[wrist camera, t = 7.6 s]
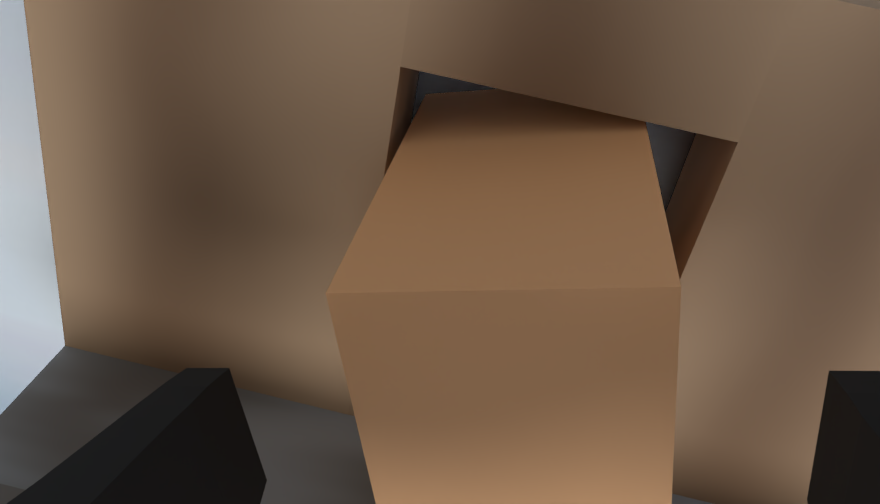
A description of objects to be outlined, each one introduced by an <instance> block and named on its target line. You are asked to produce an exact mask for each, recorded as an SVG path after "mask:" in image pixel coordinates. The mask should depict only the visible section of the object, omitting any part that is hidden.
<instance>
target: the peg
mask: <svg viewBox="0 0 880 504" xmlns="http://www.w3.org/2000/svg"><path fill="white" fill-rule="evenodd" d="M326 298H327V302H328V306H329V310H330V314H331V319H332V323H333V327H334V331H335V335H336V339H337V344H338V348H339V352H340V356H341V360H342V365H343V369H344V373H345V377H346V381H347V386H348V390H349V394H350V398H351V402H352V406H353V411H354V415H355V419H356V423H357V427H358V432H359V436H360V440H361V444H362V448H363V453H364V457H365V461H366V465H367V469H368V473H369V478H370V482H371V486H372V490H373V494H374V499H375V503H376V504H672V484H673V461H674V439H675V416H676V394H677V372H678V349H679V327H680V305H681V283H680V279H679V274H678V269H677V265H676V260H675V256H674V251H673V246H672V242H671V237H670V233H669V228H668V223H667V219H666V214H665V210H664V205H663V200H662V196H661V191H660V186H659V182H658V177H657V173H656V168H655V163H654V159H653V154H652V150H651V145H650V140H649V136H648V131H647V127H646V122H644V121H640V120H635V119H631V118H626V117H622V116H618V115H613V114H609V113H604V112H600V111H595V110H591V109H586V108H582V107H578V106H573V105H569V104H564V103H560V102H555V101H551V100H546V99H542V98H538V97H533V96H529V95H524V94H520V93H515V92H511V91H506V90H502V89H490V90H475V91H461V92H447V93H433V94H426V95H425V97H424V99H423V101H422V103H421V105H420V107H419V109H418V111H417V112H416V114H415V116H414V118H413V120H412V122H411V124H410V126H409V128H408V130H407V132H406V134H405V136H404V138H403V140H402V142H401V144H400V146H399V148H398V150H397V152H396V154H395V156H394V158H393V160H392V162H391V164H390V166H389V168H388V170H387V172H386V174H385V176H384V178H383V180H382V182H381V184H380V186H379V188H378V190H377V192H376V194H375V196H374V198H373V200H372V202H371V204H370V206H369V208H368V210H367V212H366V214H365V216H364V218H363V220H362V222H361V224H360V226H359V228H358V230H357V232H356V234H355V236H354V238H353V240H352V242H351V244H350V246H349V248H348V250H347V252H346V254H345V256H344V258H343V260H342V262H341V264H340V265H339V267H338V269H337V271H336V273H335V275H334V277H333V279H332V281H331V283H330V285H329V287H328V289H327V291H326Z"/></svg>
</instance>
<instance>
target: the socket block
mask: <svg viewBox="0 0 880 504" xmlns="http://www.w3.org/2000/svg"><path fill="white" fill-rule="evenodd" d="M24 7H25V15H26V23H27V32H28V40H29V48H30V57H31V65H32V73H33V82H34V90H35V98H36V107H37V115H38V123H39V132H40V140H41V148H42V157H43V165H44V173H45V182H46V190H47V198H48V207H49V215H50V223H51V232H52V240H53V248H54V256H55V265H56V273H57V281H58V290H59V298H60V306H61V315H62V323H63V331H64V340H65V346H64V348H63V349H62V350H61V351H60V352H59V353H58V354H57V355H56V356H55V357H54V358H53V359H52V360H51V361H50V362H49V364H48V365H47V366H46V367H45V368H44V369H43V370H42V371H41V372H40V373H39V374H38V375H37V376H36V377H35V379H34V380H33V381H32V382H31V383H30V384H29V385H28V386H27V387H26V388H25V389H24V390H23V391H22V392H21V394H20V395H19V396H18V397H17V398H16V399H15V400H14V401H13V402H12V403H11V404H10V405H9V406H8V407H7V408H6V410H5V411H4V412H3V413H2V414H1V415H0V504H7V503H8V502H9V501H11V500H12V499H14V498H15V497H16V496H18V495H19V494H20V493H22V492H23V491H25V490H26V489H27V488H29V487H30V486H32V485H33V484H34V483H36V482H37V481H38V480H40V479H41V478H42V477H44V476H45V475H46V474H47V473H49V472H50V471H51V470H53V469H54V468H55V467H56V466H58V465H59V464H60V463H62V462H63V461H64V460H66V459H67V458H68V457H69V456H71V455H72V454H73V453H75V452H76V451H77V450H79V449H80V448H81V447H82V446H84V445H85V444H86V443H88V442H89V441H90V440H92V439H93V438H94V437H95V436H97V435H98V434H99V433H101V432H102V431H103V430H104V429H106V428H107V427H108V426H110V425H111V424H112V423H113V422H115V421H116V420H117V419H118V418H120V417H121V416H122V415H124V414H125V413H126V412H128V411H129V410H130V409H131V408H133V407H134V406H135V405H137V404H138V403H139V402H140V401H142V400H143V399H144V398H146V397H147V396H148V395H150V394H151V393H152V392H154V391H155V390H156V389H158V388H159V387H160V386H162V385H163V384H164V383H166V382H167V381H168V380H170V379H171V378H173V377H174V376H176V375H177V374H179V373H180V372H181V371H183V370H184V369H186V368H229V369H230V372H231V375H232V378H233V381H234V384H235V387H236V390H237V393H238V396H239V399H240V401H241V404H242V407H243V410H244V413H245V416H246V419H247V422H248V425H249V428H250V431H251V434H252V437H253V440H254V443H255V446H256V449H257V452H258V455H259V458H260V461H261V464H262V467H263V470H264V473H265V476H266V478H267V482H266V485H265V489H264V493H263V496H262V500H261V503H260V504H376V503H375V499H374V494H373V490H372V486H371V482H370V478H369V473H368V469H367V465H366V461H365V457H364V453H363V448H362V444H361V440H360V436H359V432H358V427H357V423H356V419H355V415H354V411H353V406H352V402H351V398H350V394H349V390H348V386H347V381H346V377H345V373H344V369H343V365H342V360H341V356H340V352H339V348H338V344H337V339H336V335H335V331H334V327H333V323H332V319H331V314H330V310H329V306H328V302H327V298H326V291H327V289H328V287H329V285H330V283H331V281H332V279H333V277H334V275H335V273H336V271H337V269H338V267H339V265H340V264H341V262H342V260H343V258H344V256H345V254H346V252H347V250H348V248H349V246H350V244H351V242H352V240H353V238H354V236H355V234H356V232H357V230H358V228H359V226H360V224H361V222H362V220H363V218H364V216H365V214H366V212H367V210H368V208H369V206H370V204H371V202H372V200H373V198H374V196H375V194H376V192H377V190H378V188H379V186H380V184H381V182H382V180H383V178H384V176H385V174H386V172H387V170H388V168H389V166H390V164H391V162H392V160H393V158H394V156H395V154H396V152H397V150H398V148H399V146H400V144H401V142H402V140H403V138H404V136H405V134H406V132H407V130H408V128H409V126H410V124H411V120H412V114H413V108H414V102H415V96H416V90H417V83H418V77H419V71H422V72H426V73H431V74H435V75H440V76H444V77H449V78H453V79H457V80H462V81H466V82H471V83H475V84H480V85H484V86H489V87H493V88H498V89H502V90H506V91H511V92H515V93H520V94H524V95H529V96H533V97H538V98H542V99H546V100H551V101H555V102H560V103H564V104H569V105H573V106H578V107H582V108H586V109H591V110H595V111H600V112H604V113H609V114H613V115H618V116H622V117H626V118H631V119H635V120H640V121H644V122H649V123H653V124H658V125H662V126H667V127H671V128H675V129H680V130H684V131H689V132H693V133H696V135H695V138H694V140H693V143H692V145H691V148H690V150H689V153H688V156H687V158H686V161H685V163H684V166H683V169H682V171H681V174H680V176H679V179H678V181H677V184H676V187H675V189H674V192H673V194H672V197H671V199H670V202H669V205H668V207H667V210H666V212H665V214H666V219H667V223H668V228H669V233H670V237H671V242H672V246H673V251H674V256H675V260H676V265H677V269H678V274H679V279H680V283H681V305H680V327H679V349H678V372H677V394H676V416H675V439H674V461H673V484H672V504H808V502H807V496H808V490H809V484H810V479H811V473H812V467H813V461H814V455H815V449H816V444H817V438H818V432H819V426H820V420H821V414H822V409H823V403H824V397H825V391H826V385H827V379H828V374H829V371H880V0H24Z"/></svg>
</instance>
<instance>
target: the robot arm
mask: <svg viewBox="0 0 880 504" xmlns="http://www.w3.org/2000/svg"><path fill="white" fill-rule="evenodd" d="M266 482H267V478H266V476H265V473H264V470H263V467H262V464H261V461H260V458H259V455H258V452H257V449H256V446H255V443H254V440H253V437H252V434H251V431H250V428H249V425H248V422H247V419H246V416H245V413H244V410H243V407H242V404H241V401H240V399H239V396H238V393H237V390H236V387H235V384H234V381H233V378H232V375H231V372H230V369H229V368H186V369H184V370H183V371H181V372H180V373H179V374H177V375H176V376H174V377H173V378H171V379H170V380H168V381H167V382H166V383H164V384H163V385H162V386H160V387H159V388H158V389H156V390H155V391H154V392H152V393H151V394H150V395H148V396H147V397H146V398H144V399H143V400H142V401H140V402H139V403H138V404H137V405H135V406H134V407H133V408H131V409H130V410H129V411H128V412H126V413H125V414H124V415H122V416H121V417H120V418H118V419H117V420H116V421H115V422H113V423H112V424H111V425H110V426H108V427H107V428H106V429H104V430H103V431H102V432H101V433H99V434H98V435H97V436H95V437H94V438H93V439H92V440H90V441H89V442H88V443H86V444H85V445H84V446H82V447H81V448H80V449H79V450H77V451H76V452H75V453H73V454H72V455H71V456H69V457H68V458H67V459H66V460H64V461H63V462H62V463H60V464H59V465H58V466H56V467H55V468H54V469H53V470H51V471H50V472H49V473H47V474H46V475H45V476H44V477H42V478H41V479H40V480H38V481H37V482H36V483H34V484H33V485H32V486H30V487H29V488H27V489H26V490H25V491H23V492H22V493H20V494H19V495H18V496H16V497H15V498H14V499H12V500H11V501H9V502H8V503H7V504H260V503H261V500H262V496H263V493H264V489H265V485H266ZM807 502H808V504H880V371H829V374H828V379H827V385H826V391H825V397H824V403H823V409H822V414H821V420H820V426H819V432H818V438H817V444H816V449H815V455H814V461H813V467H812V473H811V479H810V484H809V490H808V496H807Z"/></svg>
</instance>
